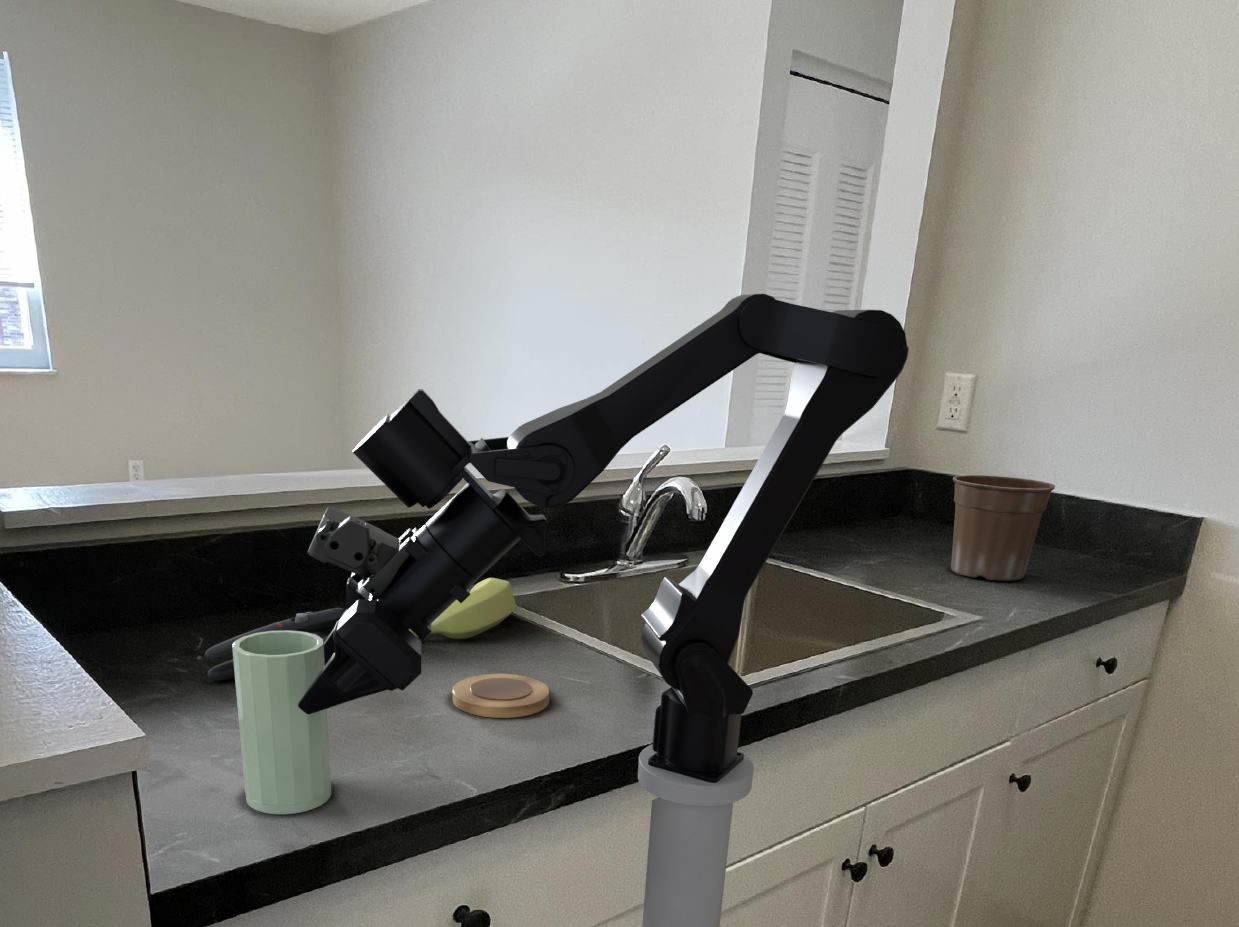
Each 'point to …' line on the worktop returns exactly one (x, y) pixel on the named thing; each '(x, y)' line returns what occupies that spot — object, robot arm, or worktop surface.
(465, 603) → the banana
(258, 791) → the tumbler
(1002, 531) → the plant pot
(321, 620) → the can opener
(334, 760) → the worktop surface
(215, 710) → the worktop surface
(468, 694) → the coaster
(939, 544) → the worktop surface
